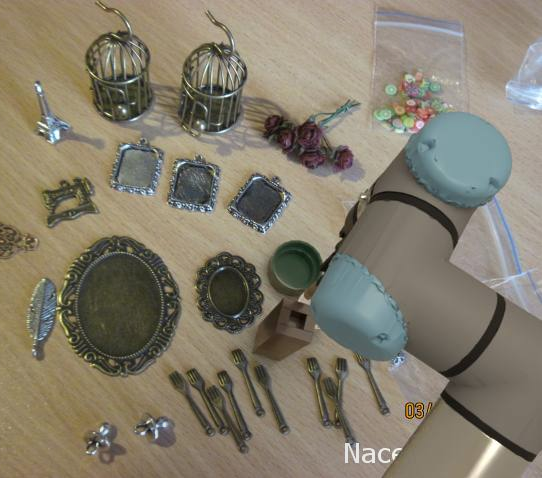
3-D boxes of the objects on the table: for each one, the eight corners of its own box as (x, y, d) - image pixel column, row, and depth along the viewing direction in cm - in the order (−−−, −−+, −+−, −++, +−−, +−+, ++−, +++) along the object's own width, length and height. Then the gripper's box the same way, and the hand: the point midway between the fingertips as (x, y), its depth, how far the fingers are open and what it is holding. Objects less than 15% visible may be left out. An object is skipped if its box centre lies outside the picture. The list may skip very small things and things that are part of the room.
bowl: (309, 302, 117) (317, 296, 111) (261, 288, 117) (266, 281, 111) (320, 256, 121) (327, 248, 115) (273, 243, 121) (279, 234, 115)
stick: (311, 302, 88) (355, 265, 67) (301, 299, 88) (343, 261, 67) (313, 292, 88) (358, 253, 67) (304, 289, 88) (345, 249, 67)
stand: (279, 361, 112) (311, 343, 88) (251, 352, 112) (275, 332, 88) (286, 332, 114) (319, 307, 90) (258, 324, 114) (284, 297, 90)
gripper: (368, 146, 57) (312, 223, 79) (340, 277, 52) (289, 320, 75) (438, 167, 57) (362, 238, 79) (415, 300, 52) (342, 336, 75)
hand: (327, 278), depth 77 cm, fingers closed on stick, 1 cm apart
